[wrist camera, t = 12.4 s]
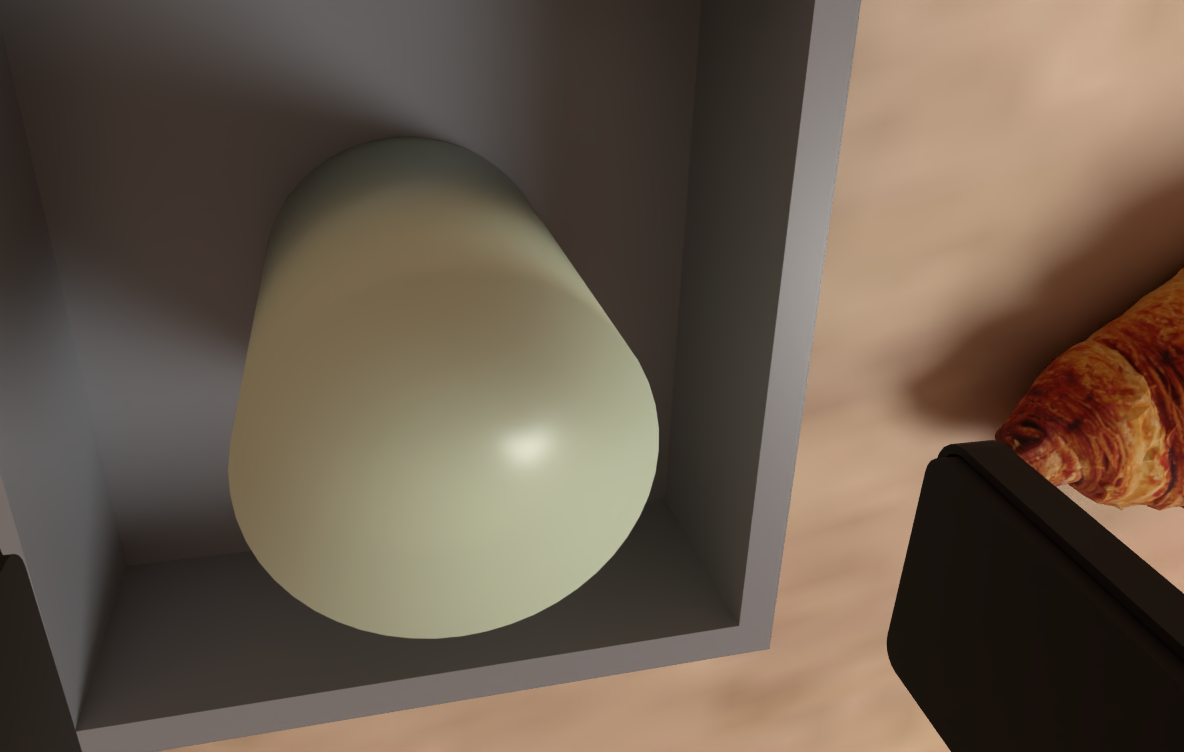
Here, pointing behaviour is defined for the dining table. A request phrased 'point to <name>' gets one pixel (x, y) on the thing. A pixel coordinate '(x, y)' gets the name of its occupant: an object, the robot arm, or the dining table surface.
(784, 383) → the bin
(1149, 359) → the croissant
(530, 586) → the pale green rounded block
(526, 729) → the dining table surface
